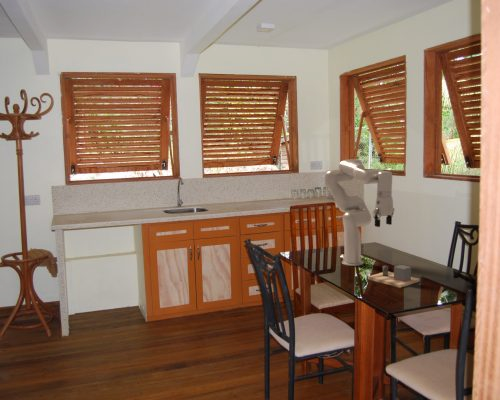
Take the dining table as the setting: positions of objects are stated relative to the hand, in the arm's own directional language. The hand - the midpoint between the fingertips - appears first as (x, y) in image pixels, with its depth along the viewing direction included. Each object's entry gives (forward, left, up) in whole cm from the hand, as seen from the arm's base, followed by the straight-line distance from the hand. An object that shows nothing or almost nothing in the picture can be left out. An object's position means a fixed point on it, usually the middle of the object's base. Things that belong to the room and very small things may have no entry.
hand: (383, 225), depth 263 cm
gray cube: (+18, -7, -25) cm, 31 cm away
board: (+12, -7, -27) cm, 30 cm away
